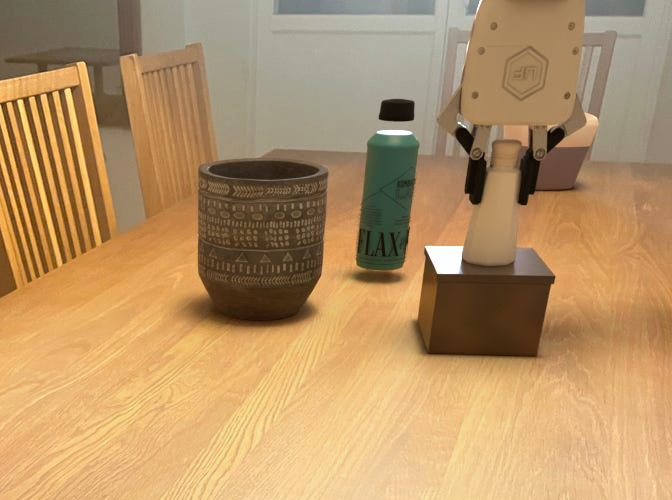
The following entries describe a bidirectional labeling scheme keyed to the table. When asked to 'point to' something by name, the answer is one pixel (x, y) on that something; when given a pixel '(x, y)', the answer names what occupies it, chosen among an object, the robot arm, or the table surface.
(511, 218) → the cream bottle
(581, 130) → the bowl
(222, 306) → the planter
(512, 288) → the walnut box
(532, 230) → the table surface
